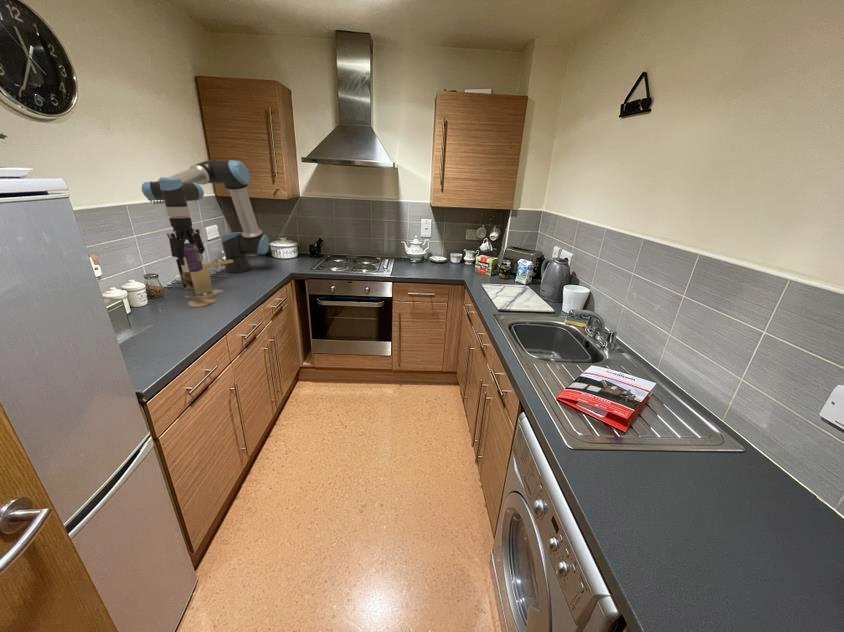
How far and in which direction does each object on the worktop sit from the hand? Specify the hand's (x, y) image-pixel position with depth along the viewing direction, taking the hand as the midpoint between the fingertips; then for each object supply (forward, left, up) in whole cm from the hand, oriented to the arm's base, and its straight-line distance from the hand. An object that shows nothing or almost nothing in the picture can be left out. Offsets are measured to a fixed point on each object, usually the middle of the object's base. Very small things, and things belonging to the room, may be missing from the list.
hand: (193, 269), depth 145 cm
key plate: (-10, -8, -16) cm, 21 cm away
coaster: (0, 0, -16) cm, 16 cm away
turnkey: (-16, -6, -15) cm, 22 cm away
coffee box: (-18, -22, -16) cm, 33 cm away
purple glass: (0, 0, -1) cm, 1 cm away
